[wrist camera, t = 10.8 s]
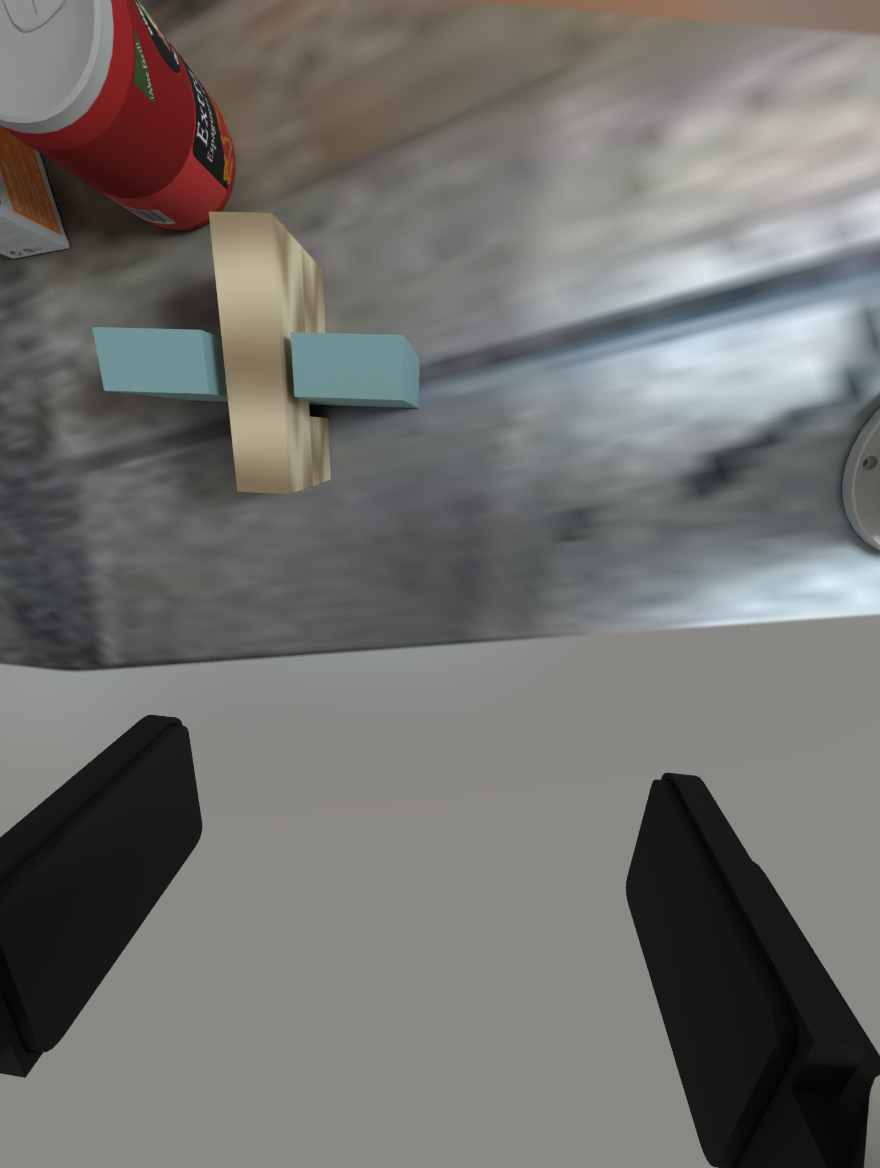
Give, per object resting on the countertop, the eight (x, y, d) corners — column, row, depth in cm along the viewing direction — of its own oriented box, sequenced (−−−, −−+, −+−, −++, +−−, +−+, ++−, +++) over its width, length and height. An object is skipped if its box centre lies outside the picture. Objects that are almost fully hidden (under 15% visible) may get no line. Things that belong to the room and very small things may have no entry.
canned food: (264, 191, 28) (141, 45, 17) (162, 262, 29) (-7, 168, 19) (190, 44, 26) (0, -220, 15) (85, 130, 27) (-152, -58, 17)
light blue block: (419, 359, 30) (403, 334, 22) (418, 407, 31) (403, 400, 23) (184, 353, 31) (92, 327, 23) (191, 400, 32) (104, 390, 24)
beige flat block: (276, 269, 29) (208, 211, 21) (323, 270, 29) (271, 212, 21) (290, 478, 33) (237, 491, 25) (330, 480, 33) (289, 494, 25)
